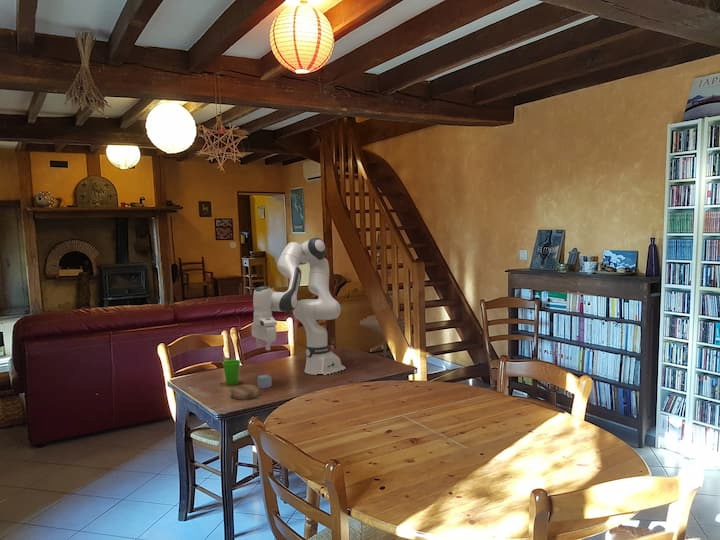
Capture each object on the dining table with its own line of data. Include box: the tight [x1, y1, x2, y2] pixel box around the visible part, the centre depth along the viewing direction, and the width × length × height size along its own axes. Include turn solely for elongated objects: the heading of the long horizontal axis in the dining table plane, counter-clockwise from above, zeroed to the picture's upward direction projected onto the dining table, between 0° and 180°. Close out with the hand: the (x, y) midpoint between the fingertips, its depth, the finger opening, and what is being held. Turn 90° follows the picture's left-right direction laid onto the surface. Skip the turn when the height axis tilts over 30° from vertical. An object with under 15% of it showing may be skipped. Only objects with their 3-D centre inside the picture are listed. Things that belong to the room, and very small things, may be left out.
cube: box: [257, 373, 273, 389], centre depth 248 cm, size 5×5×5 cm
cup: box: [222, 359, 242, 386], centre depth 253 cm, size 9×9×11 cm
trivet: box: [230, 384, 261, 401], centre depth 235 cm, size 13×13×3 cm
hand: (263, 348), depth 247 cm, fingers open, 8 cm apart
